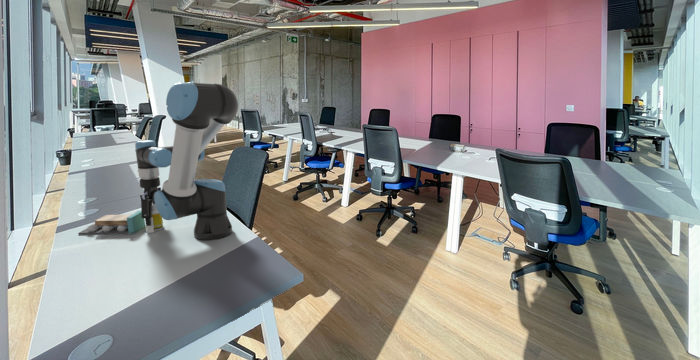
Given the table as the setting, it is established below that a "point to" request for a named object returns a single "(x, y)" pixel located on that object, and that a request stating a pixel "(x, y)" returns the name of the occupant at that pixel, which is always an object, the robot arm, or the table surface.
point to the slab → (112, 220)
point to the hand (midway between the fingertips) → (155, 228)
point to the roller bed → (117, 226)
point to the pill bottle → (156, 219)
